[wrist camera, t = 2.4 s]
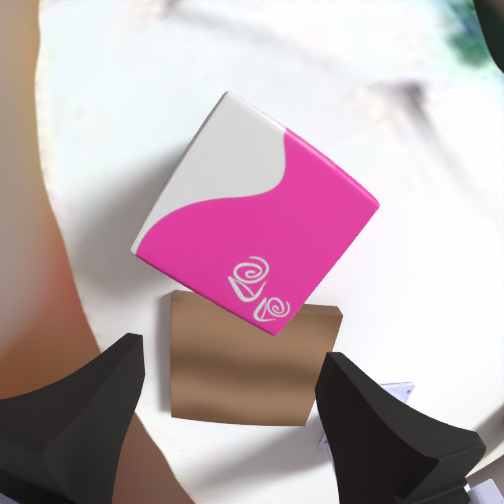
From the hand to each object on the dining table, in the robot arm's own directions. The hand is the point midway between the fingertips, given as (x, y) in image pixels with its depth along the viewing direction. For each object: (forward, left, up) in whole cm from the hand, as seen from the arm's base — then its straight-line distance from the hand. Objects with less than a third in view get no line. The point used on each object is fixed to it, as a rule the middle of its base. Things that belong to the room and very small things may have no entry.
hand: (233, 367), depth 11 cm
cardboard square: (-8, -2, -11) cm, 14 cm away
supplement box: (+6, 0, -11) cm, 12 cm away
